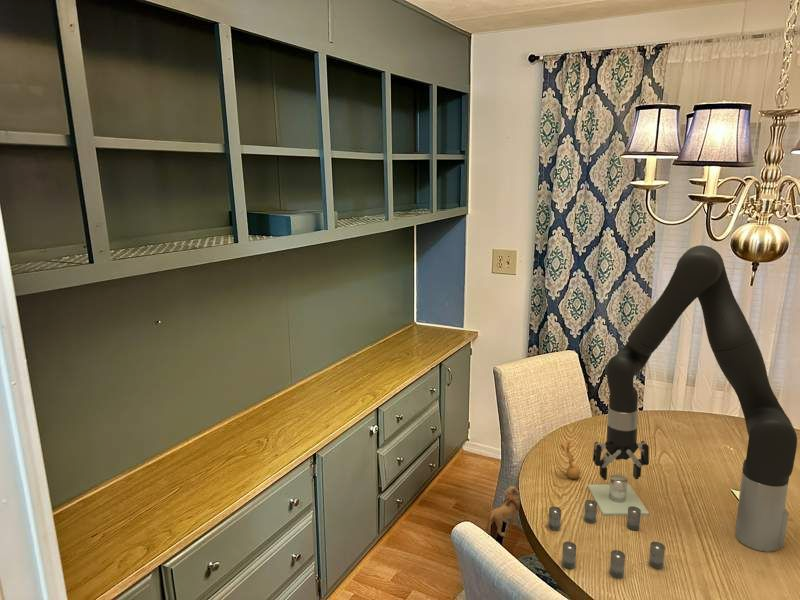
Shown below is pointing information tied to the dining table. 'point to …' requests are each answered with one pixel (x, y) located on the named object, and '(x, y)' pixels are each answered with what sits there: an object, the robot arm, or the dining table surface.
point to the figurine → (572, 470)
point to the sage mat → (614, 508)
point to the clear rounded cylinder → (618, 488)
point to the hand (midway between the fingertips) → (619, 478)
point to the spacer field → (616, 556)
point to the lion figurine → (505, 510)
